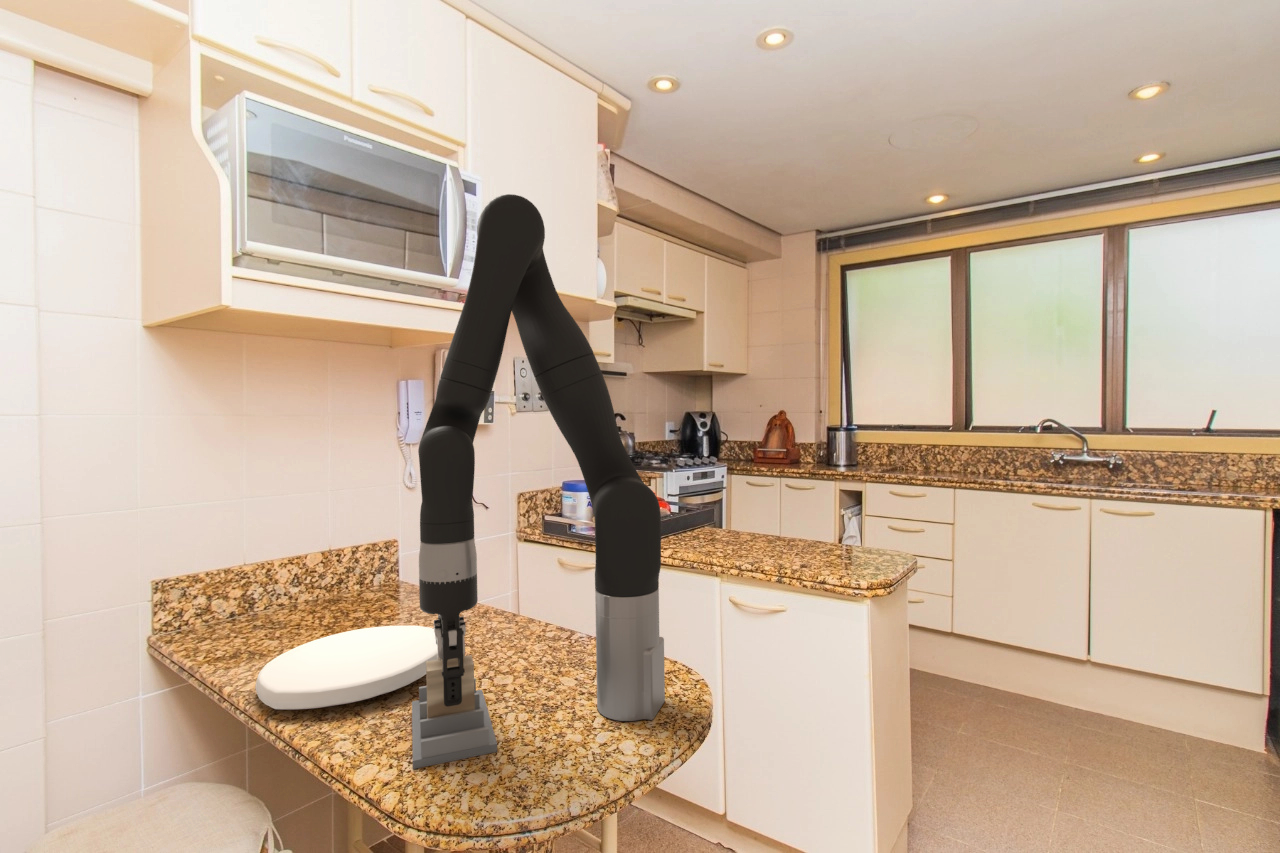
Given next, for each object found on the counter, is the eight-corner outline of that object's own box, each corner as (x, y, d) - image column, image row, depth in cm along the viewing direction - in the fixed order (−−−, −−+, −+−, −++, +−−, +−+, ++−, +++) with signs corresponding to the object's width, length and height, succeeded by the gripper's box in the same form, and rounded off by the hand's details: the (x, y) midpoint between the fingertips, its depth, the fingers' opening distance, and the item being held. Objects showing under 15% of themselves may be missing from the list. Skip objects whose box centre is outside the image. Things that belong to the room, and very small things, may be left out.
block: (475, 722, 82) (473, 664, 82) (428, 731, 80) (426, 671, 80) (472, 711, 85) (471, 654, 85) (427, 719, 83) (426, 661, 83)
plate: (239, 703, 81) (265, 640, 105) (246, 750, 82) (270, 677, 106) (454, 644, 93) (433, 600, 117) (459, 686, 94) (437, 633, 118)
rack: (497, 751, 77) (496, 728, 77) (412, 769, 73) (412, 744, 73) (482, 696, 92) (481, 676, 92) (412, 708, 89) (411, 687, 89)
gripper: (482, 582, 77) (485, 709, 77) (471, 558, 91) (473, 667, 91) (420, 588, 75) (422, 720, 75) (418, 563, 88) (420, 675, 88)
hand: (450, 691), depth 83 cm, fingers open, 8 cm apart
